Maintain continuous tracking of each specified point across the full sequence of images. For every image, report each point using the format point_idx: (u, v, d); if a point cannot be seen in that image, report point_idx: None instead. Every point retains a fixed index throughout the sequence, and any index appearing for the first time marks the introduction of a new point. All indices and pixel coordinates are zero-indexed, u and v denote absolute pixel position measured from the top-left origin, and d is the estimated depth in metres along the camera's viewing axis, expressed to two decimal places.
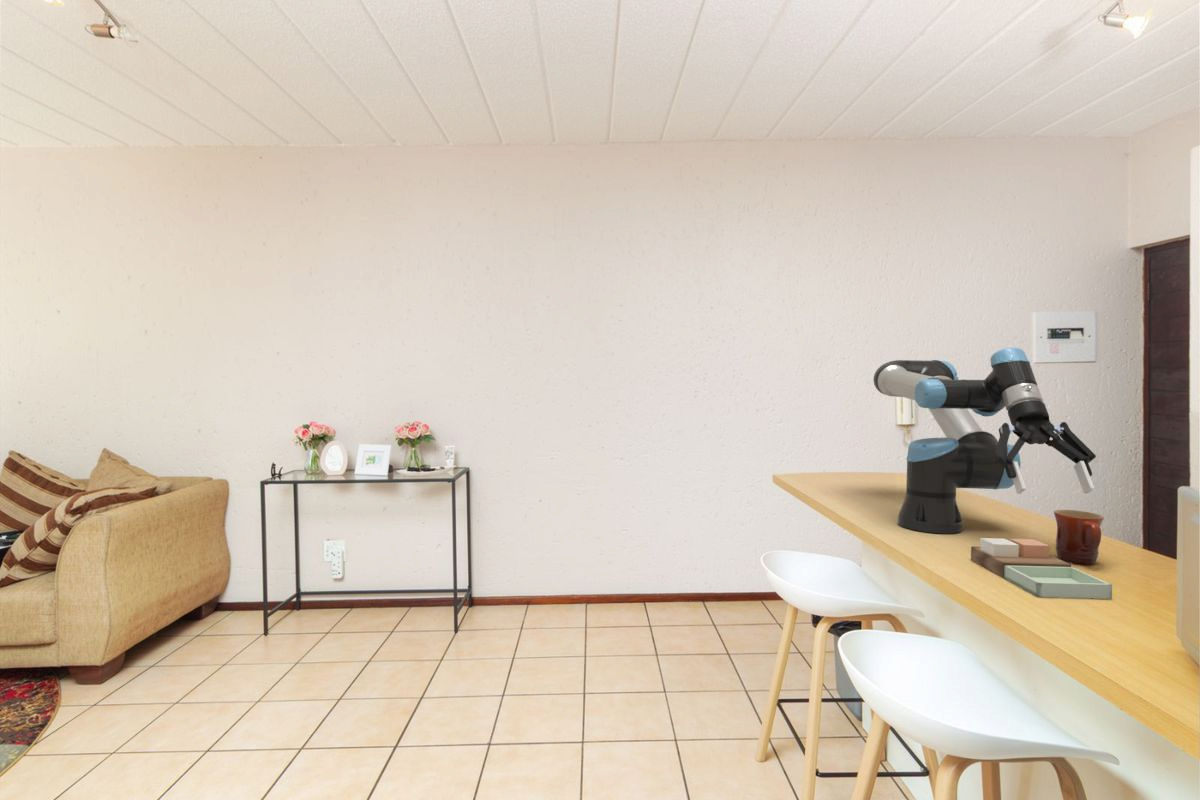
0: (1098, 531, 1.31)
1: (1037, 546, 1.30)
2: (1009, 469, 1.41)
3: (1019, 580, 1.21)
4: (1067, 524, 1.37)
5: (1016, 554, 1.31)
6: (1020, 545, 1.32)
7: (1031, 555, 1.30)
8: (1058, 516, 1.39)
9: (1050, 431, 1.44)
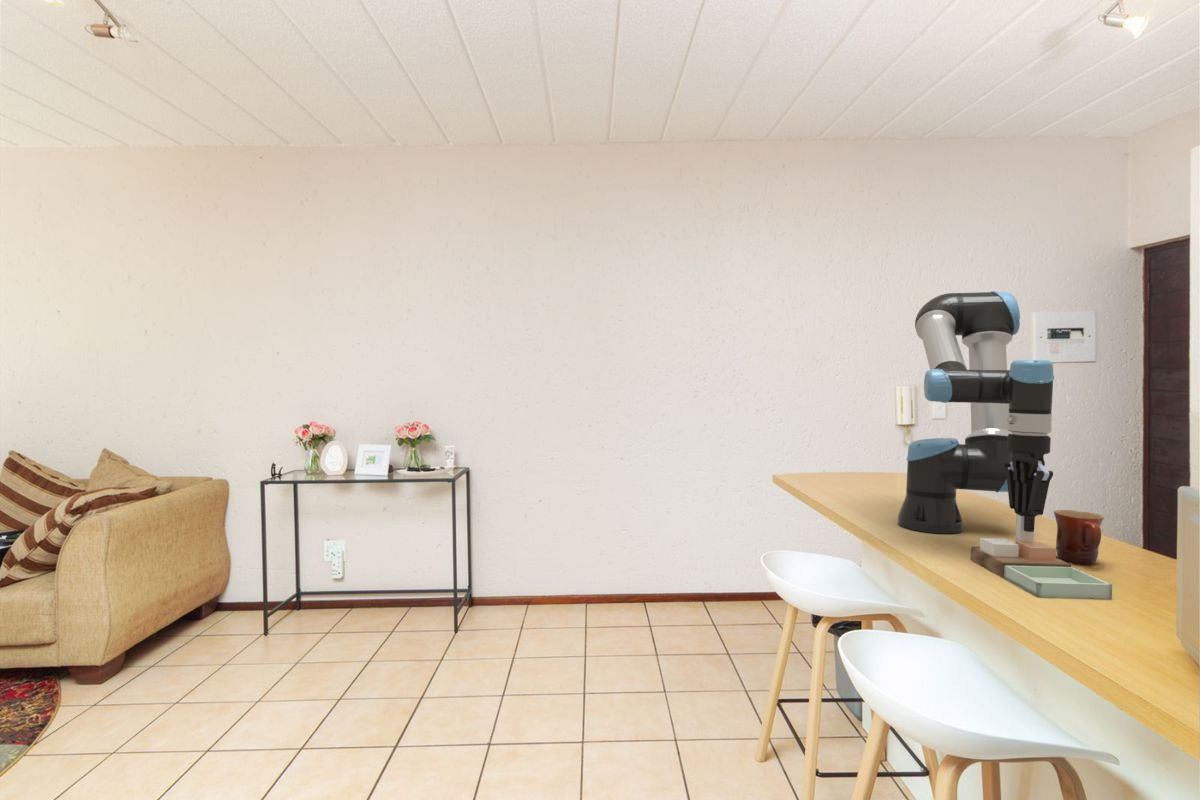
0: (1098, 531, 1.31)
1: (1044, 549, 1.28)
2: (1017, 520, 1.36)
3: (1019, 580, 1.21)
4: (1067, 524, 1.37)
5: (1016, 554, 1.31)
6: (1026, 548, 1.30)
7: (1038, 558, 1.28)
8: (1058, 516, 1.39)
9: (1023, 472, 1.32)
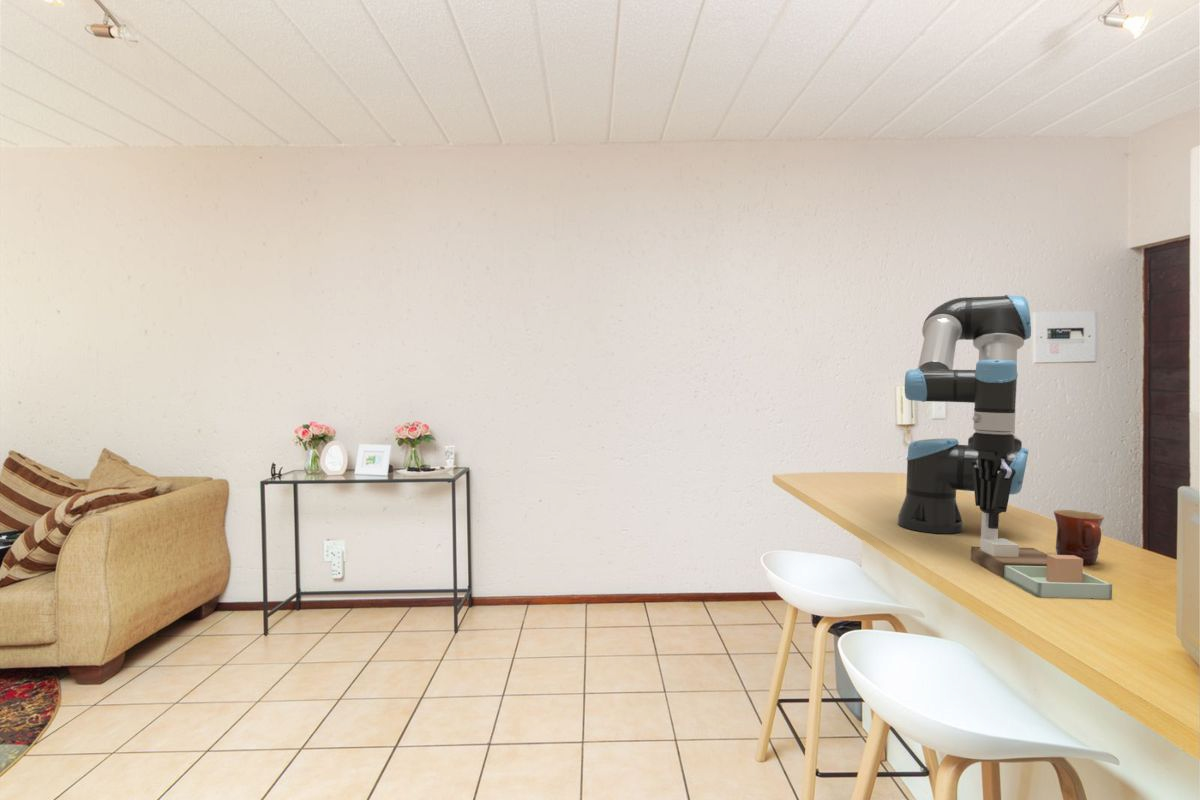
0: (1098, 531, 1.31)
1: None
2: None
3: (1019, 580, 1.21)
4: (1067, 524, 1.37)
5: (1016, 554, 1.31)
6: (1053, 578, 1.21)
7: None
8: (1058, 516, 1.39)
9: (987, 470, 1.34)
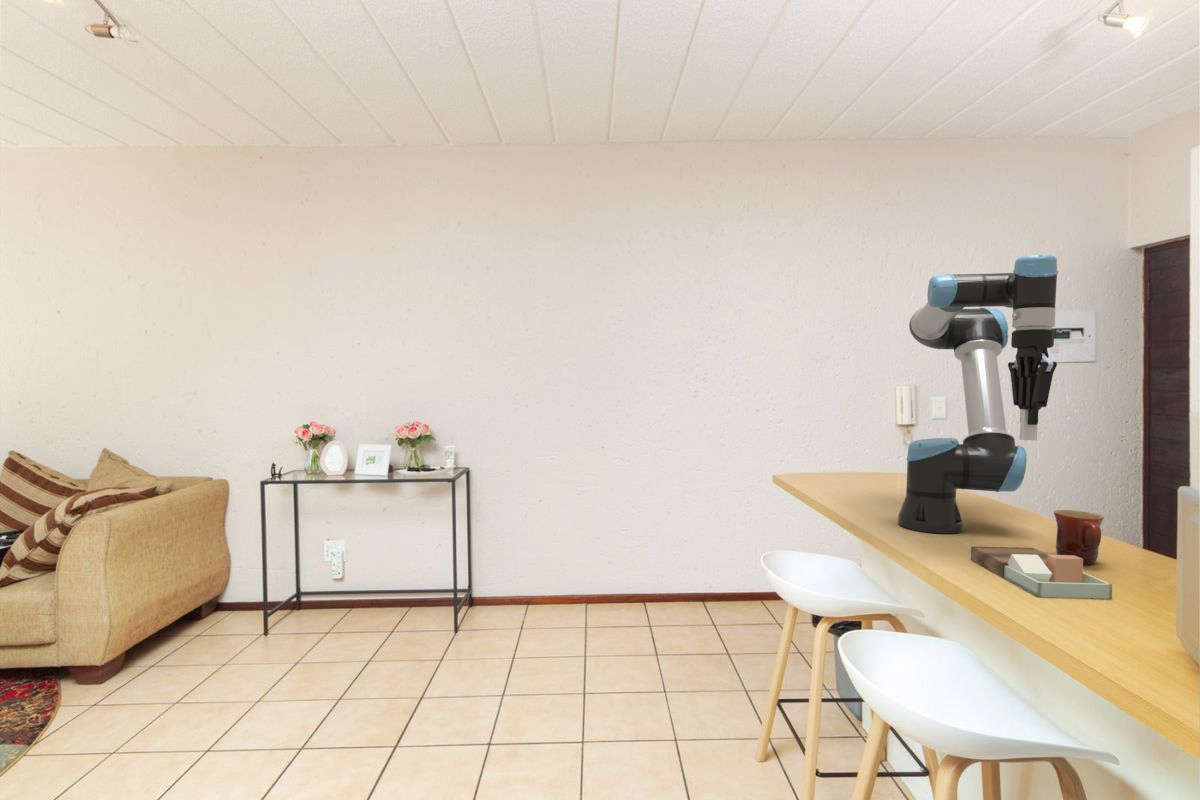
0: (1098, 531, 1.31)
1: None
2: (1020, 416, 1.38)
3: (1019, 580, 1.21)
4: (1067, 524, 1.37)
5: (1046, 581, 1.21)
6: (1053, 578, 1.21)
7: None
8: (1058, 516, 1.39)
9: (1027, 366, 1.35)
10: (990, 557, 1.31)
